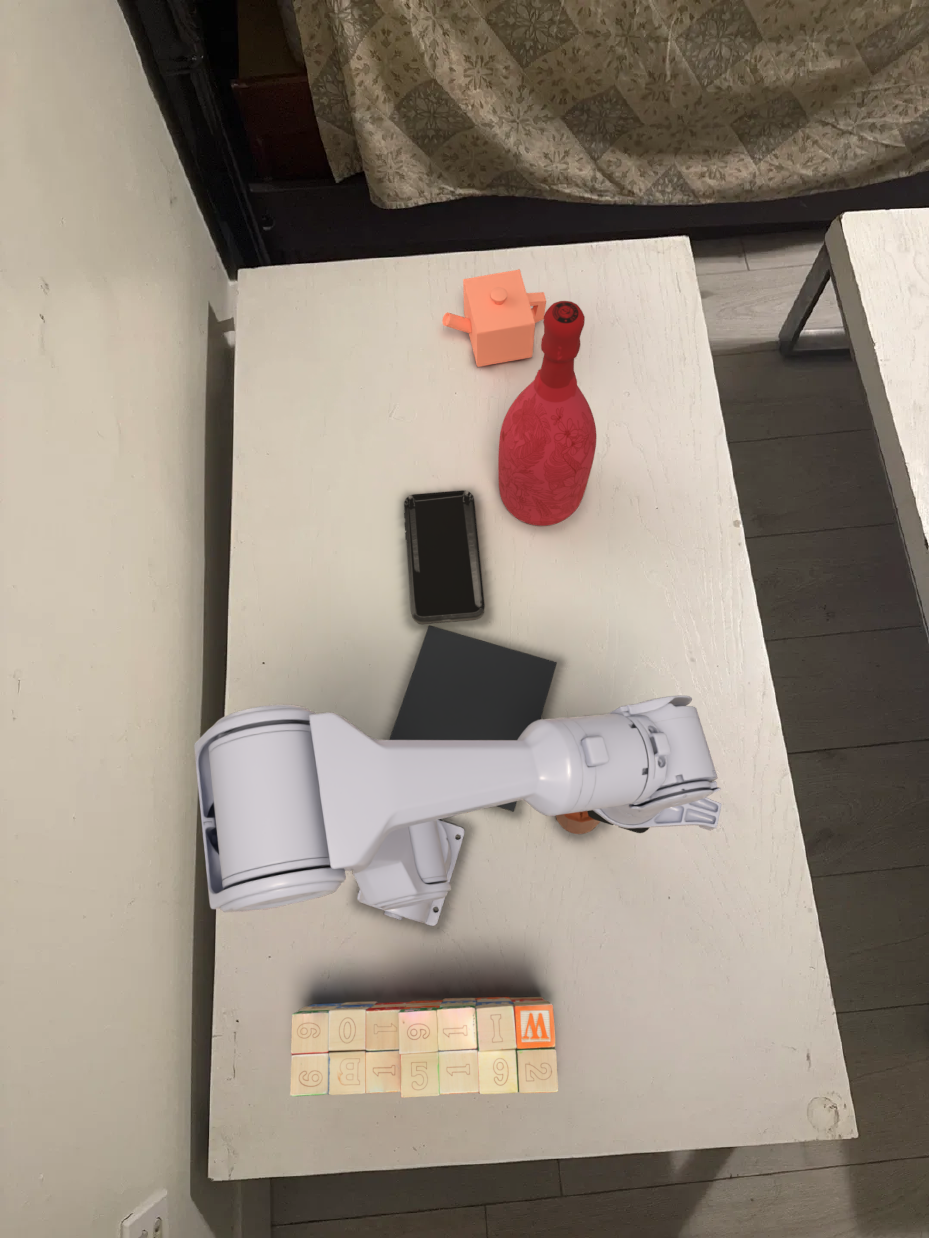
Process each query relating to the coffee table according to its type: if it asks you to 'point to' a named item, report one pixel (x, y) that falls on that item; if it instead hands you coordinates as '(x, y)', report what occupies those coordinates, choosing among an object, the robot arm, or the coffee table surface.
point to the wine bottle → (549, 430)
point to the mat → (472, 691)
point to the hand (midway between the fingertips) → (612, 804)
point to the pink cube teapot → (499, 317)
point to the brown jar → (577, 822)
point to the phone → (443, 557)
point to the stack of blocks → (425, 1047)
